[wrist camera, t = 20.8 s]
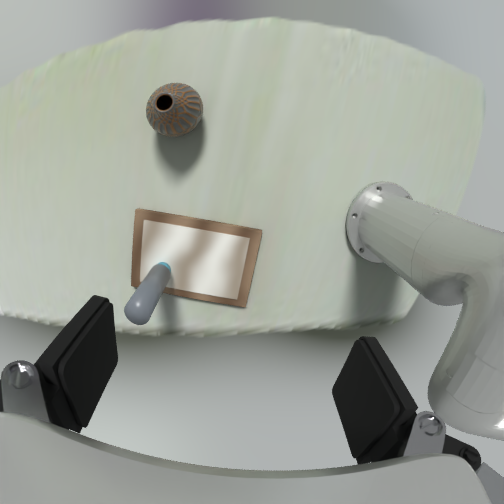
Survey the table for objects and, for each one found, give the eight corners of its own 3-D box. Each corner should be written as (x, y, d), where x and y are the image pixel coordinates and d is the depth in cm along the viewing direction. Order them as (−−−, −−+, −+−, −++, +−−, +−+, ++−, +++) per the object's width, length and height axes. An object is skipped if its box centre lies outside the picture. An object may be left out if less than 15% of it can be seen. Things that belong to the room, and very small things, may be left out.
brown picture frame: (261, 229, 39) (262, 232, 38) (245, 304, 43) (245, 307, 42) (137, 208, 37) (135, 210, 36) (133, 283, 41) (130, 286, 40)
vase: (201, 85, 32) (190, 65, 24) (210, 131, 34) (201, 124, 26) (152, 98, 32) (130, 84, 24) (161, 143, 34) (139, 141, 26)
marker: (173, 262, 39) (149, 304, 28) (172, 280, 40) (149, 327, 29) (154, 258, 39) (123, 299, 27) (152, 276, 40) (124, 321, 28)
